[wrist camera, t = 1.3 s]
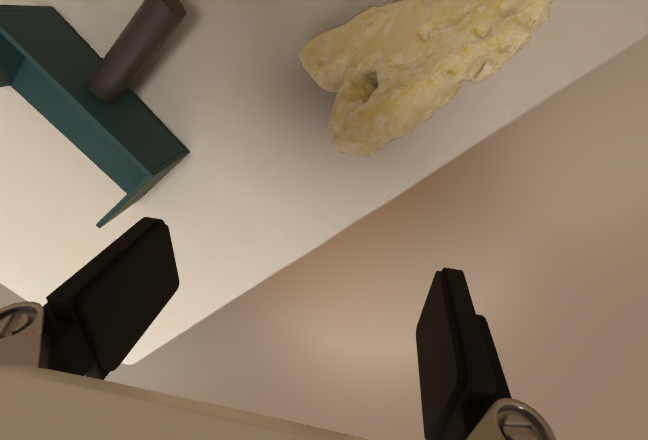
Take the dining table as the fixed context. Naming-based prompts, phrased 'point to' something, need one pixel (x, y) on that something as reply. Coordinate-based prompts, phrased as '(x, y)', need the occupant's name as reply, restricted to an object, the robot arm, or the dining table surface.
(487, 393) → the robot arm
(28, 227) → the dining table surface
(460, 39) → the cream irregular lump
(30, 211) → the dining table surface
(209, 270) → the dining table surface
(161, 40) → the dustpan
